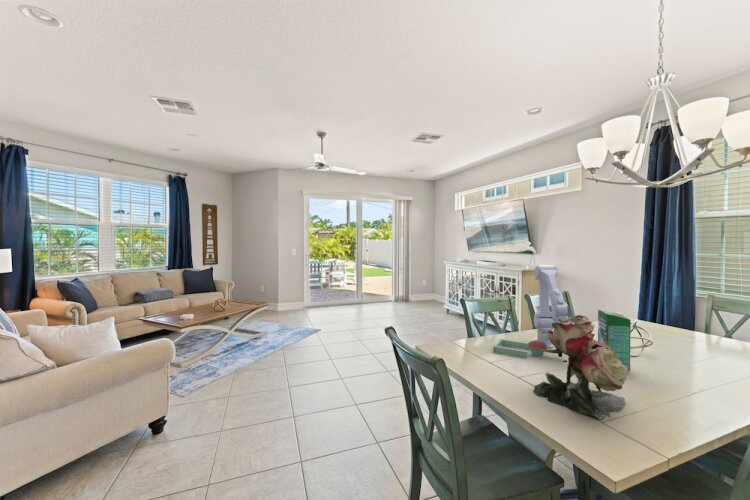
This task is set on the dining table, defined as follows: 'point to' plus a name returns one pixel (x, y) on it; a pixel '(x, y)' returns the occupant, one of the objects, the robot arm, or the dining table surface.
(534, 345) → the cupcake
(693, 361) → the dining table surface
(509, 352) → the mint green u shape
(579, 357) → the rose bouquet
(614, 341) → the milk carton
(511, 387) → the dining table surface
